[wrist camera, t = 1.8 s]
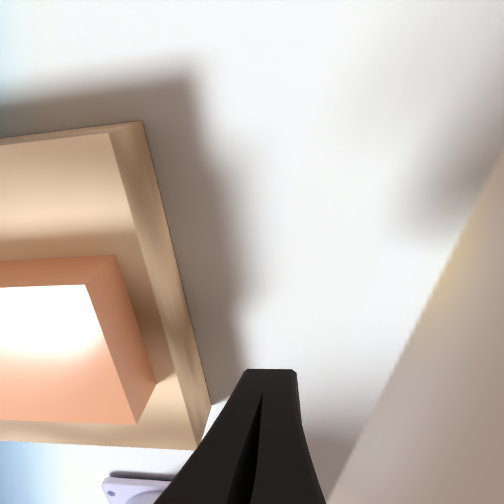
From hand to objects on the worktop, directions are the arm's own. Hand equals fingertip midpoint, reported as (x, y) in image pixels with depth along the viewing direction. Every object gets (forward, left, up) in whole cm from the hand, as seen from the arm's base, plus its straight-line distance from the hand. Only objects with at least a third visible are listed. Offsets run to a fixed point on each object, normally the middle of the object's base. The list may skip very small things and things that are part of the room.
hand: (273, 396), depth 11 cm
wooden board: (0, +11, -6) cm, 12 cm away
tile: (0, +10, -3) cm, 11 cm away
